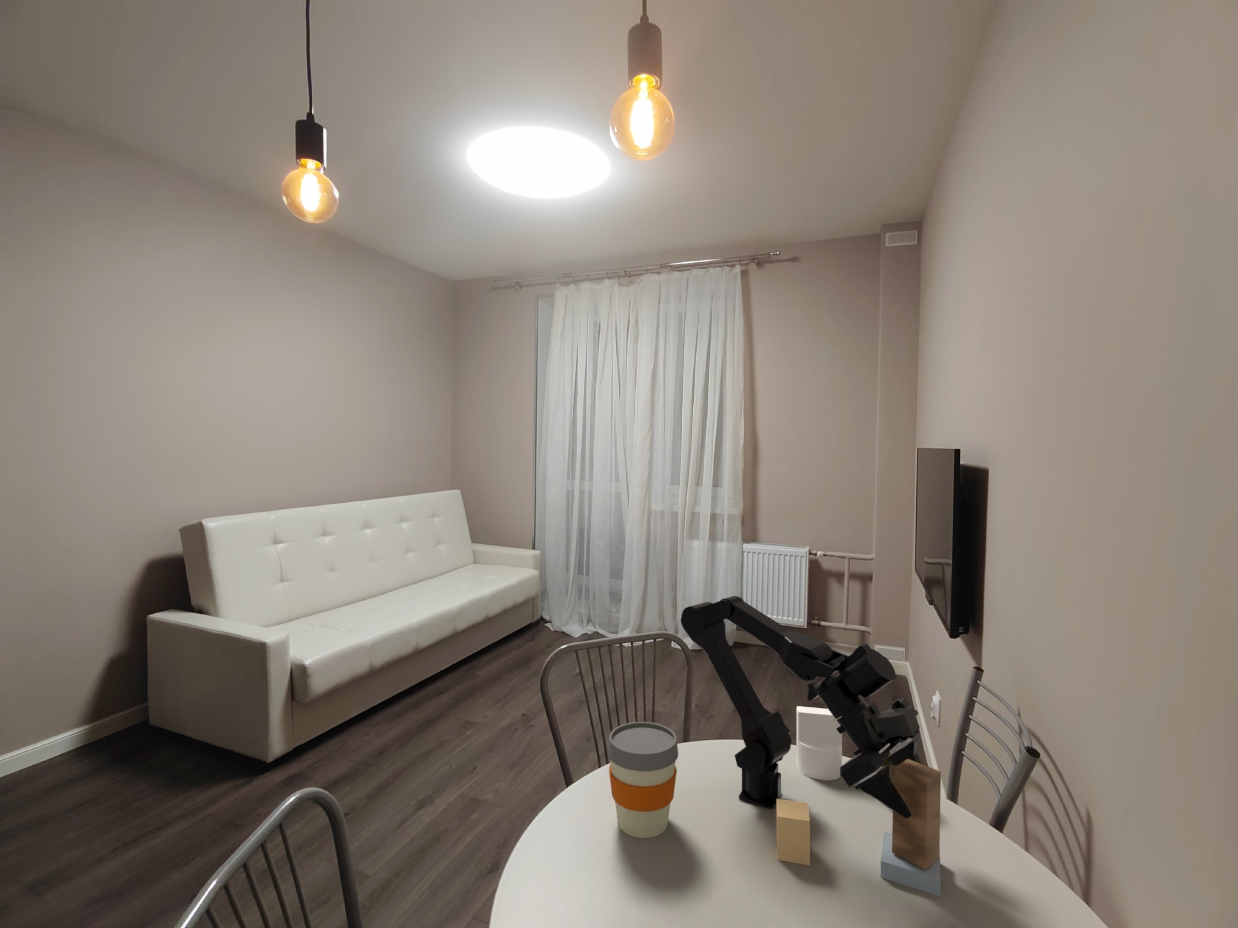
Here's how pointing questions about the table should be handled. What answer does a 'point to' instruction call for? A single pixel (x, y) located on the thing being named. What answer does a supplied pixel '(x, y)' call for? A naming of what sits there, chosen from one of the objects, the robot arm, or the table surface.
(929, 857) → the walnut pillar
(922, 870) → the slate block
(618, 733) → the reusable coffee cup
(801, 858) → the ochre block
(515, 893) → the table surface
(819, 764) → the cylinder with rectangular tab
